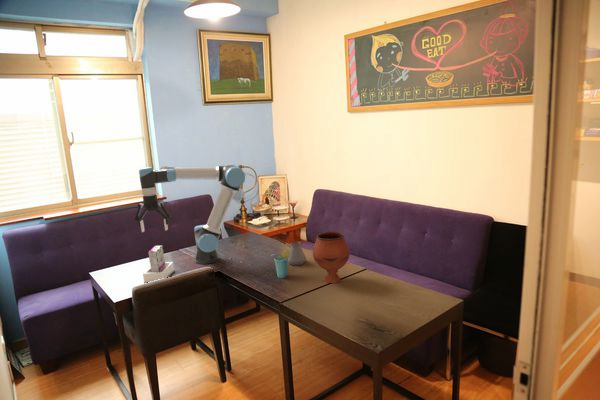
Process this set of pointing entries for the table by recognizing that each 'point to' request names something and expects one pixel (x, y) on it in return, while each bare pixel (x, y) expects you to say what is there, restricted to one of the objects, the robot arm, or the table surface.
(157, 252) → the candy bar box
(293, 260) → the coffee pot
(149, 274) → the white open box
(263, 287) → the table surface
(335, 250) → the goblet
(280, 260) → the cup
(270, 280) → the table surface
